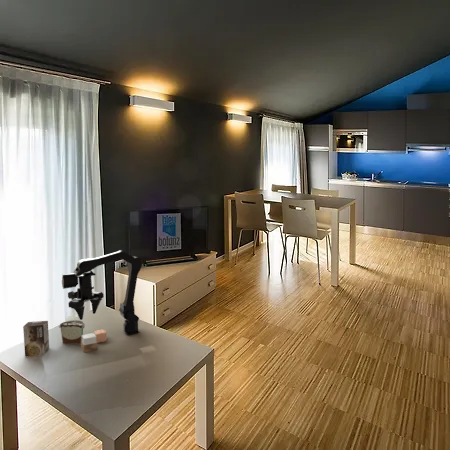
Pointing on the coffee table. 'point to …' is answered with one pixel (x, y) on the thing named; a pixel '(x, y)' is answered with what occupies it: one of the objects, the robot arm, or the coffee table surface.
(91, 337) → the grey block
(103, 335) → the clay block
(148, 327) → the coffee table surface
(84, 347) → the walnut block
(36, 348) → the coffee box
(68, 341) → the food container
